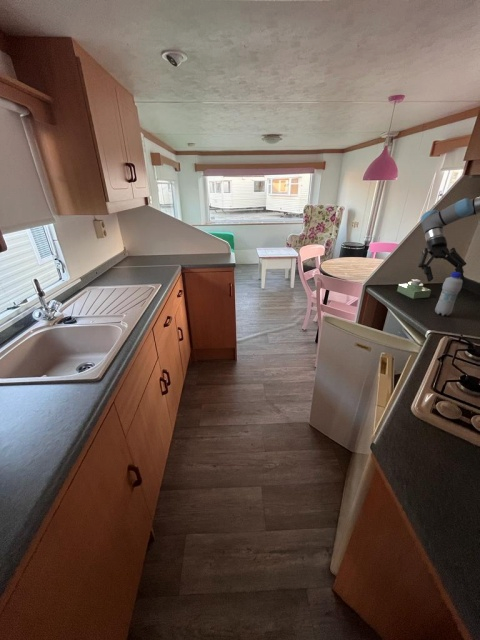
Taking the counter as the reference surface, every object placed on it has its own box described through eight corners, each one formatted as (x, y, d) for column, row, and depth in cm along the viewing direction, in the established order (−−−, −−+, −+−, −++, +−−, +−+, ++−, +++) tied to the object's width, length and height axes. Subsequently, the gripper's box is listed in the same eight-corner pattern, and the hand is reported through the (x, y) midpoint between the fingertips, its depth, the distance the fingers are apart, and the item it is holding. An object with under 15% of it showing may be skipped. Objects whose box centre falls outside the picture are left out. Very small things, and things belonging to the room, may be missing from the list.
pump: (421, 285, 142) (422, 281, 141) (414, 285, 142) (416, 281, 141) (415, 283, 146) (416, 278, 145) (409, 283, 145) (410, 279, 144)
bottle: (433, 309, 127) (446, 269, 118) (450, 312, 124) (465, 271, 115) (433, 315, 122) (448, 273, 113) (451, 318, 119) (467, 275, 110)
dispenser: (429, 297, 142) (432, 286, 139) (412, 298, 140) (416, 288, 137) (412, 289, 152) (415, 279, 150) (396, 291, 151) (399, 281, 148)
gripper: (456, 244, 130) (467, 283, 124) (404, 245, 131) (413, 283, 125) (468, 235, 123) (481, 276, 117) (413, 236, 124) (422, 276, 118)
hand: (445, 280), depth 121 cm, fingers open, 13 cm apart
